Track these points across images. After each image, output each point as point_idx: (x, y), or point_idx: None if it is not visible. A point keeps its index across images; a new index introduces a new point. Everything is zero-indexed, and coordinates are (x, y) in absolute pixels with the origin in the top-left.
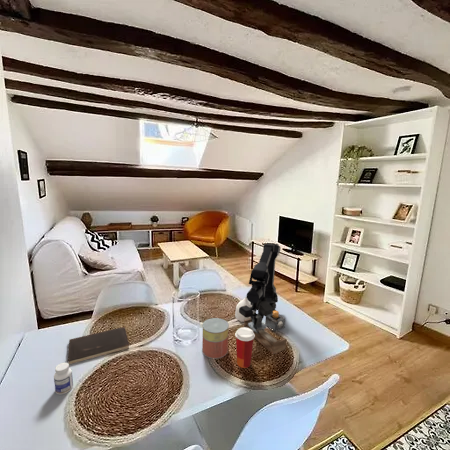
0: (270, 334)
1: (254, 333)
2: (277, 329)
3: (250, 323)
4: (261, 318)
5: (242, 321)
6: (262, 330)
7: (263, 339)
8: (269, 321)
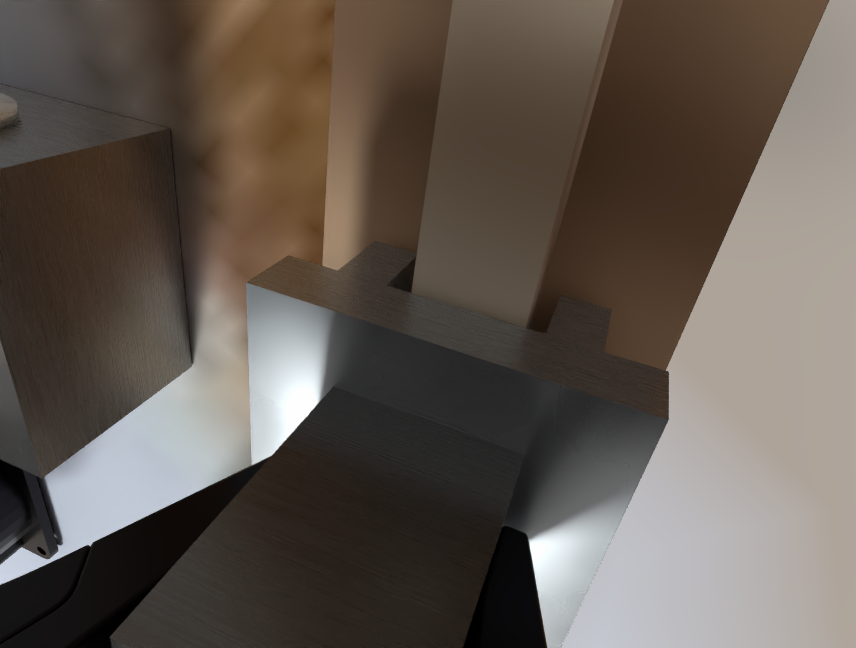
0: (336, 48)
1: None
2: (86, 113)
3: None
4: (204, 578)
5: None
6: (438, 265)
7: (701, 14)
8: (80, 333)
